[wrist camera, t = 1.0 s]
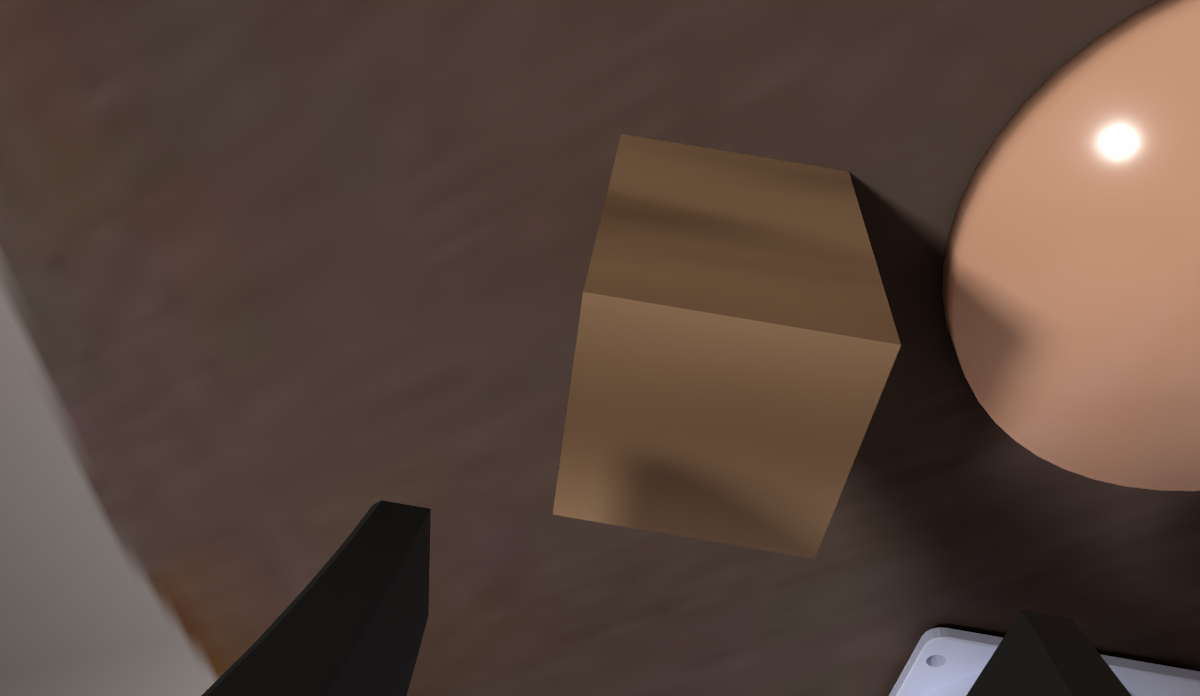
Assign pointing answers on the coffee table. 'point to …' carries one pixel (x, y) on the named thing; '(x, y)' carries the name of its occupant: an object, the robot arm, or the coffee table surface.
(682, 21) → the coffee table surface
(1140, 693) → the robot arm
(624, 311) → the block
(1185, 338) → the peach flat disc
